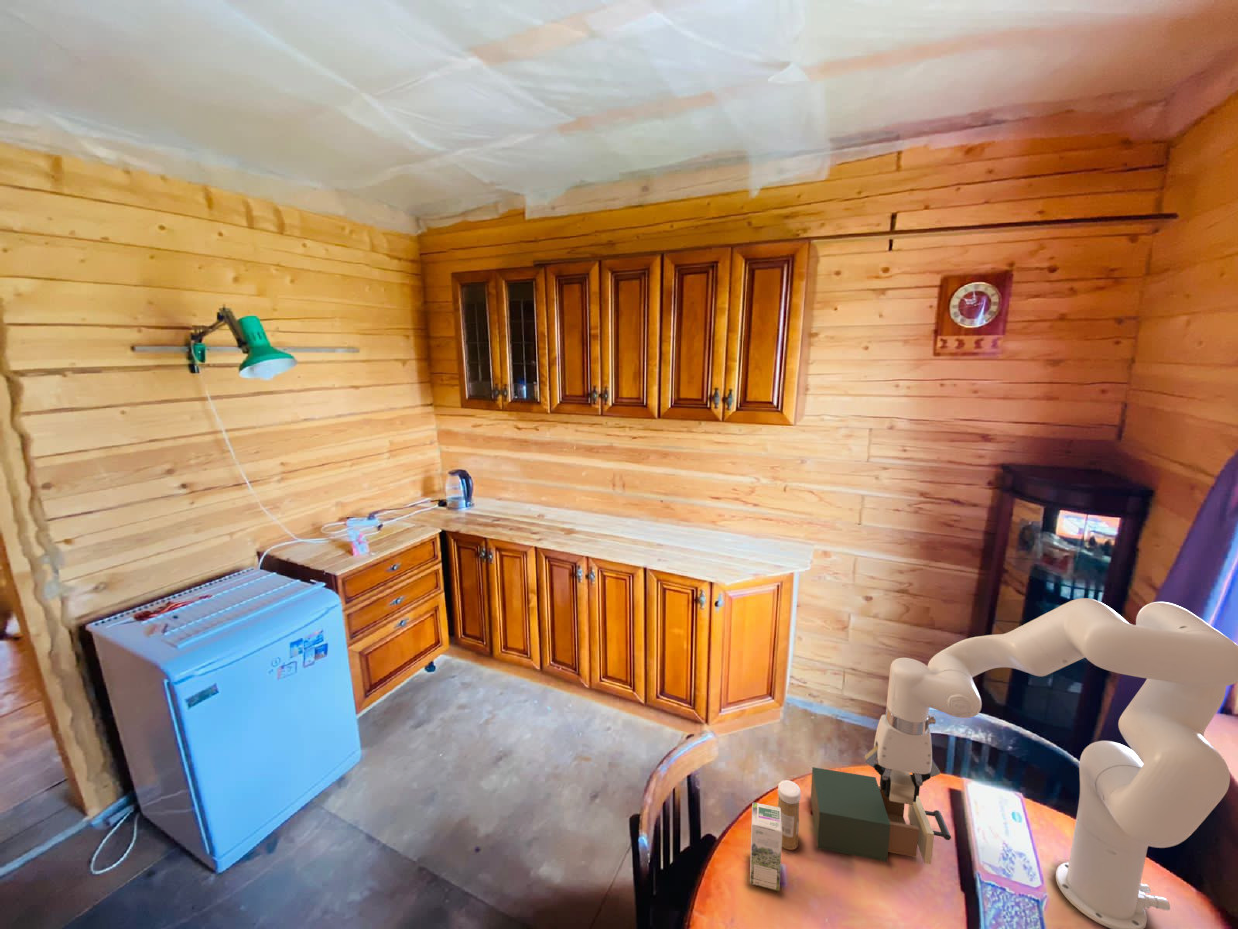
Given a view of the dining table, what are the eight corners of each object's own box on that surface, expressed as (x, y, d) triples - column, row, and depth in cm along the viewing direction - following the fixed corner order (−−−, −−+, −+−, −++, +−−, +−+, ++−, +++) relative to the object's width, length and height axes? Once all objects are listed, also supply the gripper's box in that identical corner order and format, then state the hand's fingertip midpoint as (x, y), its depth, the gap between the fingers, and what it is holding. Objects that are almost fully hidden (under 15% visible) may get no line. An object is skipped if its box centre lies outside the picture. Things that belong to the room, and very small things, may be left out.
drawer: (934, 821, 112) (937, 792, 111) (954, 869, 101) (957, 838, 100) (853, 806, 116) (855, 779, 115) (864, 851, 105) (866, 822, 104)
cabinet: (872, 811, 116) (875, 777, 114) (887, 862, 104) (890, 824, 102) (810, 800, 119) (812, 767, 118) (817, 848, 107) (819, 812, 106)
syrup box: (778, 865, 104) (781, 805, 101) (779, 893, 98) (782, 830, 96) (750, 859, 105) (752, 799, 103) (749, 886, 100) (751, 824, 97)
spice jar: (802, 843, 108) (805, 789, 106) (788, 855, 106) (791, 800, 104) (785, 828, 112) (787, 775, 110) (771, 838, 110) (773, 785, 107)
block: (906, 788, 109) (908, 771, 108) (913, 805, 105) (914, 787, 104) (884, 784, 110) (886, 767, 109) (889, 801, 106) (891, 783, 105)
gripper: (945, 713, 105) (936, 788, 109) (858, 701, 110) (852, 773, 113) (959, 738, 98) (949, 817, 102) (866, 724, 102) (859, 801, 106)
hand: (898, 793), depth 107 cm, fingers closed on block, 4 cm apart
